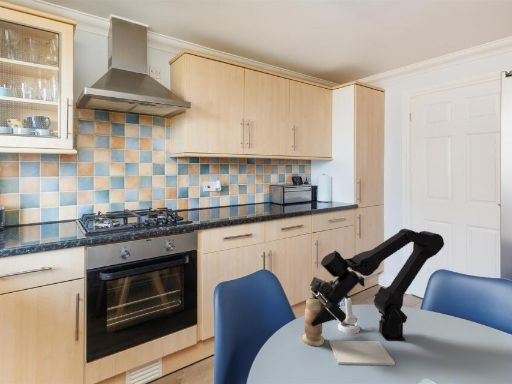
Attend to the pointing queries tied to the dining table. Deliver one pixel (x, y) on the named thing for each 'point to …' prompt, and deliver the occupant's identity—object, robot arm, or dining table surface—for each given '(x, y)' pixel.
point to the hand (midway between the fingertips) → (309, 320)
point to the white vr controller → (349, 319)
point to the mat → (360, 353)
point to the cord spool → (312, 332)
